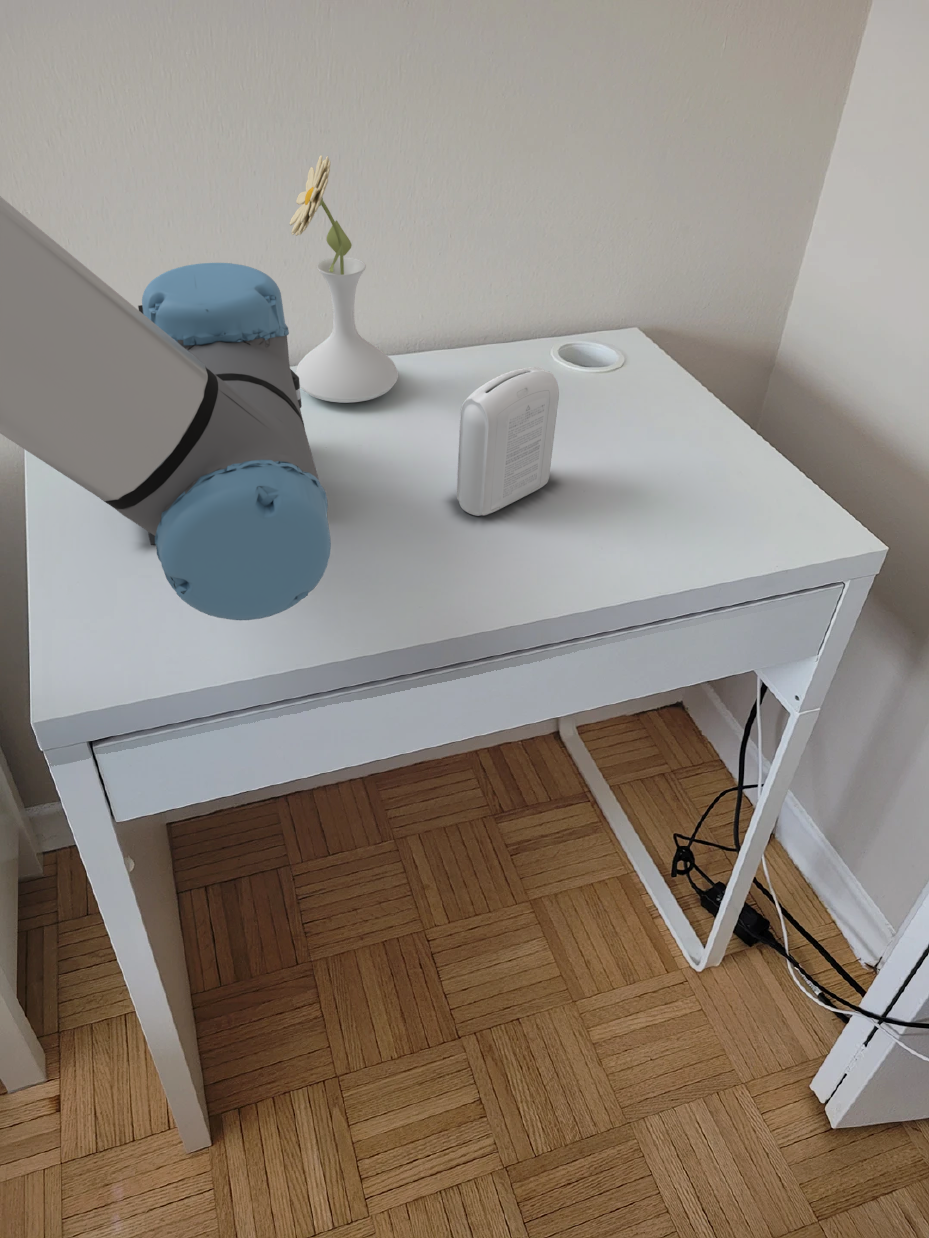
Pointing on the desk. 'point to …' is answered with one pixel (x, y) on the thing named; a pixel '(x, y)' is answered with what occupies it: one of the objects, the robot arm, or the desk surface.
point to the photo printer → (506, 439)
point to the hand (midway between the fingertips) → (189, 316)
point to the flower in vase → (339, 316)
